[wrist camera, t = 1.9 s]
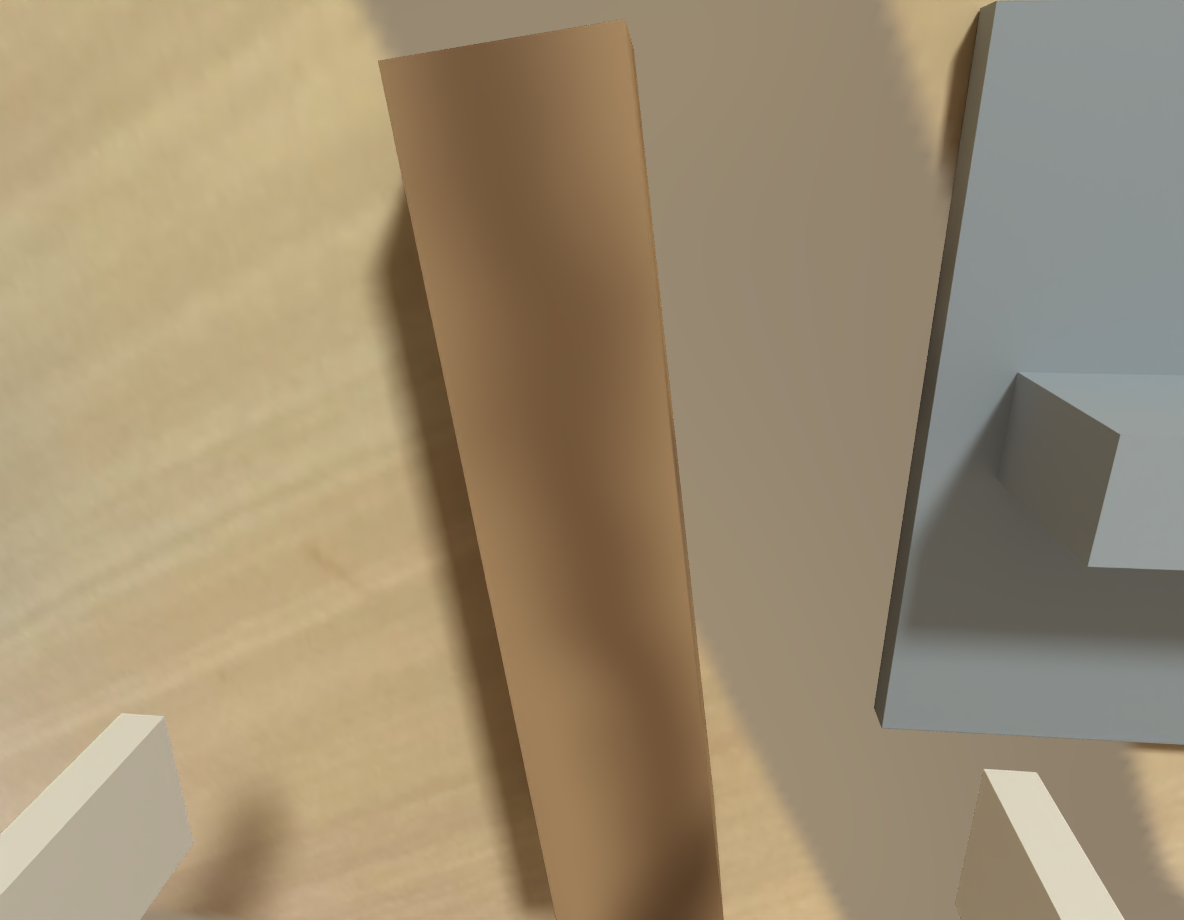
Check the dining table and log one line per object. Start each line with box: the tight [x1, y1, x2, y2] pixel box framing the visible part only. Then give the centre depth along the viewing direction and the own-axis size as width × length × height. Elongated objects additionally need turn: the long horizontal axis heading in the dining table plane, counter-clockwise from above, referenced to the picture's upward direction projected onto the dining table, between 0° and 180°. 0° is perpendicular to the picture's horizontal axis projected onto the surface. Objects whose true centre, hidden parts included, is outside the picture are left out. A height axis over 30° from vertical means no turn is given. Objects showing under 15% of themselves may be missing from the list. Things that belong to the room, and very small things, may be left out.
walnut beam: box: [378, 19, 724, 920], centre depth 22 cm, size 5×24×5 cm, turn 8°
